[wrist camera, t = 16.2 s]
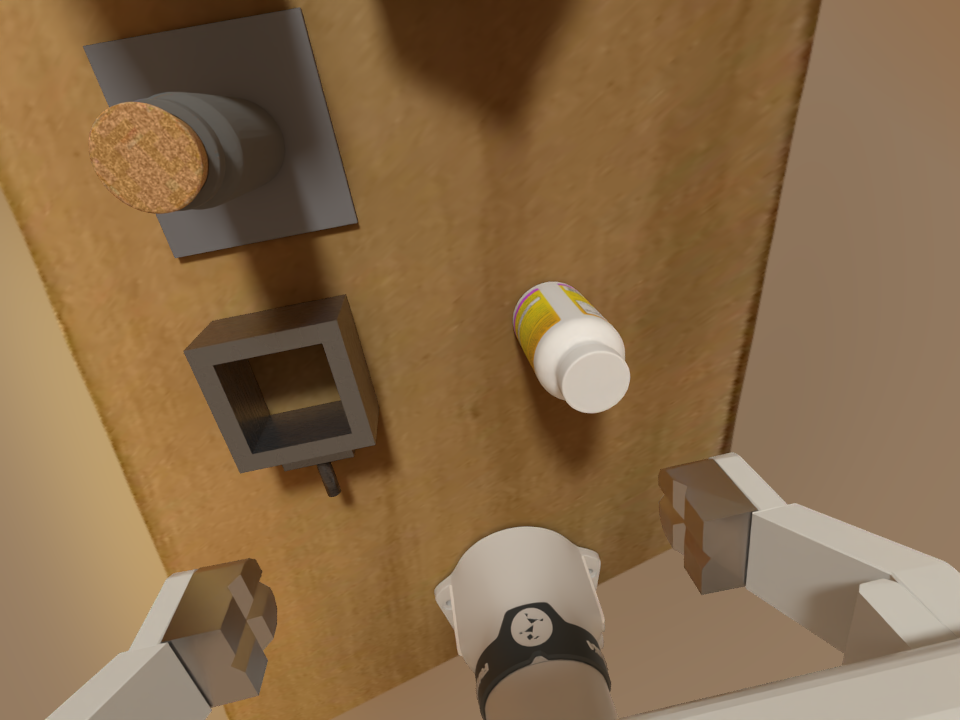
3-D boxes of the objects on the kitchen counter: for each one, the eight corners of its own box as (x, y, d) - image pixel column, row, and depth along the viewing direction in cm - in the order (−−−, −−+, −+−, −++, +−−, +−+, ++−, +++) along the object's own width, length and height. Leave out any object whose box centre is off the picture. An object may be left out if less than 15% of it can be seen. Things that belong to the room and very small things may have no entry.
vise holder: (394, 459, 50) (393, 501, 45) (281, 484, 50) (265, 528, 44) (345, 294, 43) (336, 320, 37) (212, 320, 42) (183, 351, 37)
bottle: (226, 198, 38) (126, 244, 25) (181, 114, 36) (41, 114, 22) (300, 170, 38) (240, 201, 24) (260, 84, 35) (168, 65, 22)
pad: (358, 221, 40) (357, 222, 40) (177, 256, 40) (174, 258, 39) (301, 9, 34) (299, 7, 34) (87, 47, 34) (82, 46, 33)
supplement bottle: (514, 355, 47) (548, 433, 36) (507, 285, 44) (542, 345, 33) (586, 344, 47) (643, 418, 36) (584, 274, 45) (646, 329, 33)
